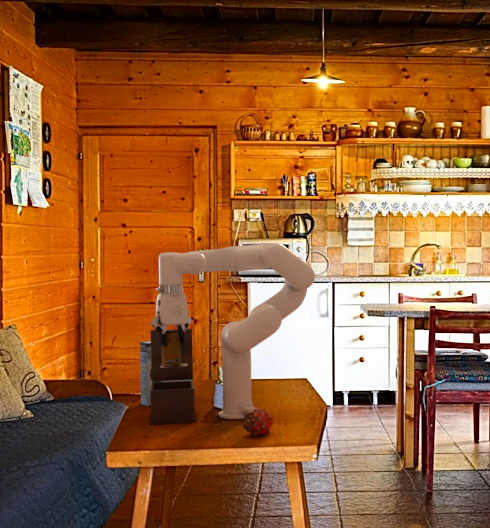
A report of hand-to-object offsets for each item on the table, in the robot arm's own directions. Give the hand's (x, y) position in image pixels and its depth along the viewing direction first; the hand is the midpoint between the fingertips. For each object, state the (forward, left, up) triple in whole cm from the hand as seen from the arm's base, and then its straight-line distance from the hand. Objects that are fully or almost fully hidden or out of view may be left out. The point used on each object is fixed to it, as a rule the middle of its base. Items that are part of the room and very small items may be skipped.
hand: (172, 344), depth 276 cm
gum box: (+29, -18, -25) cm, 43 cm away
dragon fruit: (-38, -4, -25) cm, 46 cm away
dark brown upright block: (+9, -6, -5) cm, 12 cm away
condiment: (0, -1, -7) cm, 7 cm away
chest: (+3, -2, -25) cm, 25 cm away
